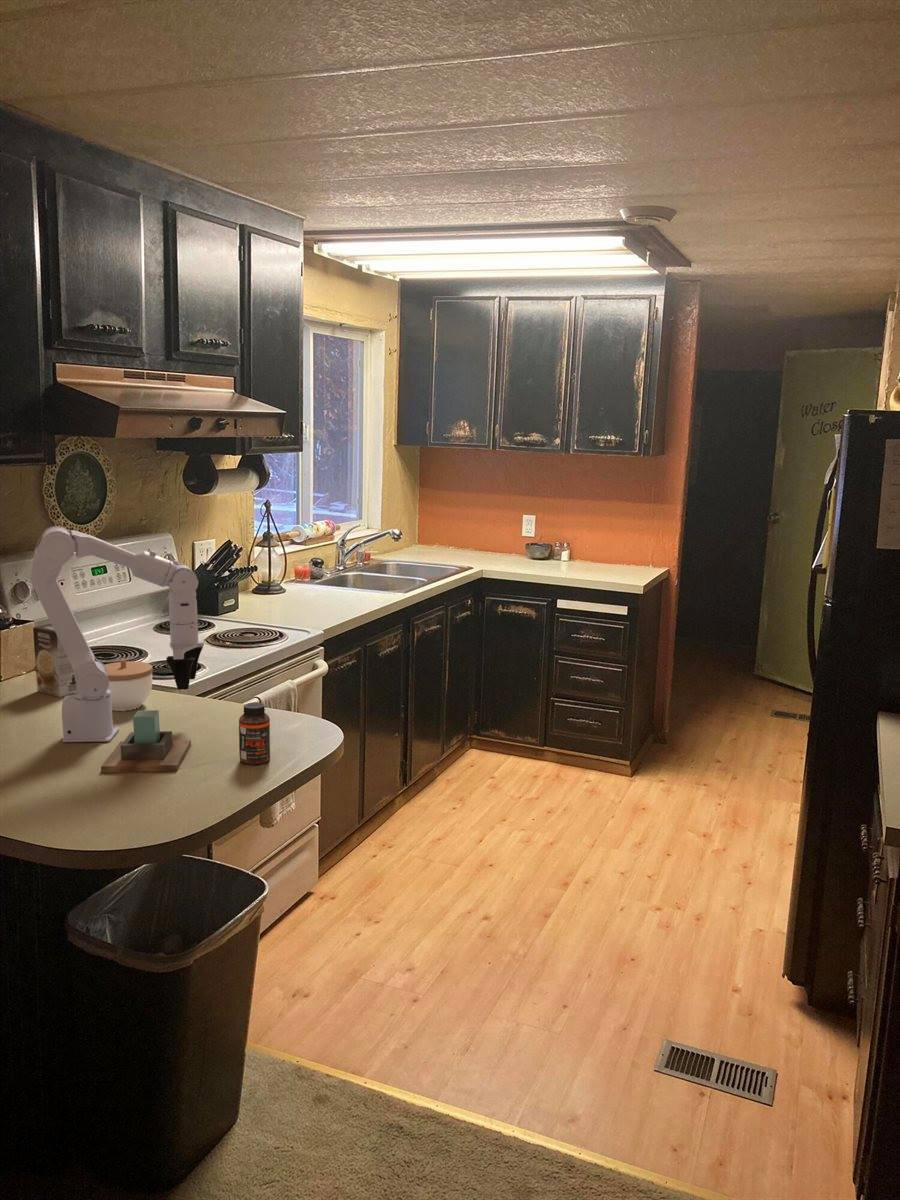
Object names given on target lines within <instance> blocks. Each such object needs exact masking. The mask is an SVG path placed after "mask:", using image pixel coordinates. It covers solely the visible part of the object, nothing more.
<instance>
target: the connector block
mask: <svg viewBox="0 0 900 1200" xmlns="http://www.w3.org/2000/svg"><path fill="white" fill-rule="evenodd" d="M159 711H160V710H158V709H157V710H151V709H150V710H149V709H148V710H137V711H136V712H135V714H134V715H133V716H132V723H133V724H132V725H133V732H134V743H135V744H138V743H160V731H161V730H160V712H159Z"/></svg>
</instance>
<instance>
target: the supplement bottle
mask: <svg viewBox="0 0 900 1200" xmlns="http://www.w3.org/2000/svg"><path fill="white" fill-rule="evenodd" d="M238 738H239V739H238V747H239V750H238V751H239V761H240V762H241V763H242V764H244V763H245V765H248V764H249V765H250V766H255V765H257V764H258V765H262V764H266V763H267V762H269V761H270V760H271V719H270V716H269V715H268V714H267V713H266V710H265V704H264V703H262V702H255V701H251V702H248V703H245V704H244V705H243V713H242V715H240V717H239V718H238ZM265 762H266V763H265ZM258 765H257V766H258Z"/></svg>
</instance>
